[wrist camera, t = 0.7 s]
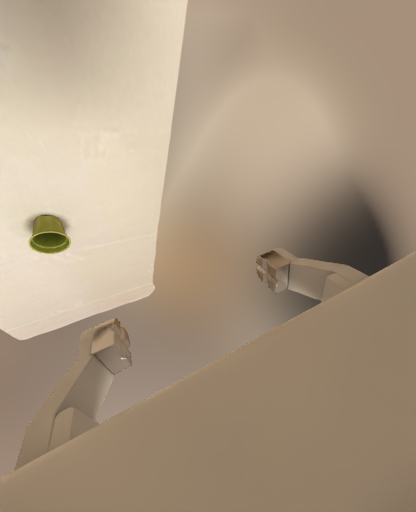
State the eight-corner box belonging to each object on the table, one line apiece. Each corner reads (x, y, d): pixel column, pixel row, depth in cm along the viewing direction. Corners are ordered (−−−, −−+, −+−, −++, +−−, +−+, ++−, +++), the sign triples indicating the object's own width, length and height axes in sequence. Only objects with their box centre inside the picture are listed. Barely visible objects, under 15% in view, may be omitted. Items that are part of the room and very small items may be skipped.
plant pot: (74, 221, 63) (78, 240, 59) (52, 237, 64) (55, 257, 60) (43, 205, 55) (45, 226, 51) (19, 223, 56) (19, 246, 52)
